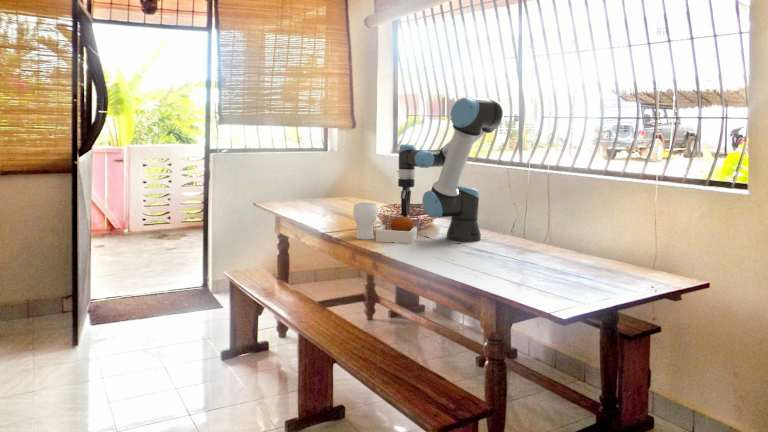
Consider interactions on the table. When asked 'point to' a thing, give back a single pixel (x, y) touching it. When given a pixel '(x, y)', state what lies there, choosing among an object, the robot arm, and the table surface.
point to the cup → (365, 219)
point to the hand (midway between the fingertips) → (405, 228)
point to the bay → (396, 234)
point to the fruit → (402, 224)
